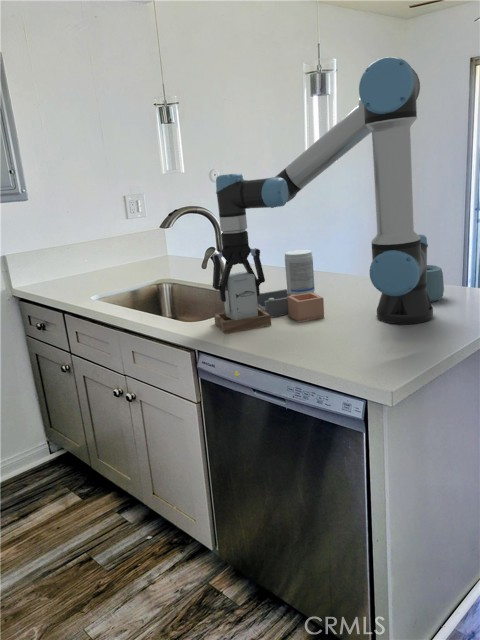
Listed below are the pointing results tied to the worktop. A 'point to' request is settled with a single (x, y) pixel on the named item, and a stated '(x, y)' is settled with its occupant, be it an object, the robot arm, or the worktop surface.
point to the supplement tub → (299, 272)
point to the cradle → (274, 302)
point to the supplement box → (242, 296)
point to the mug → (434, 282)
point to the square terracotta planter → (305, 306)
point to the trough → (242, 322)
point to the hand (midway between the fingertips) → (241, 309)
